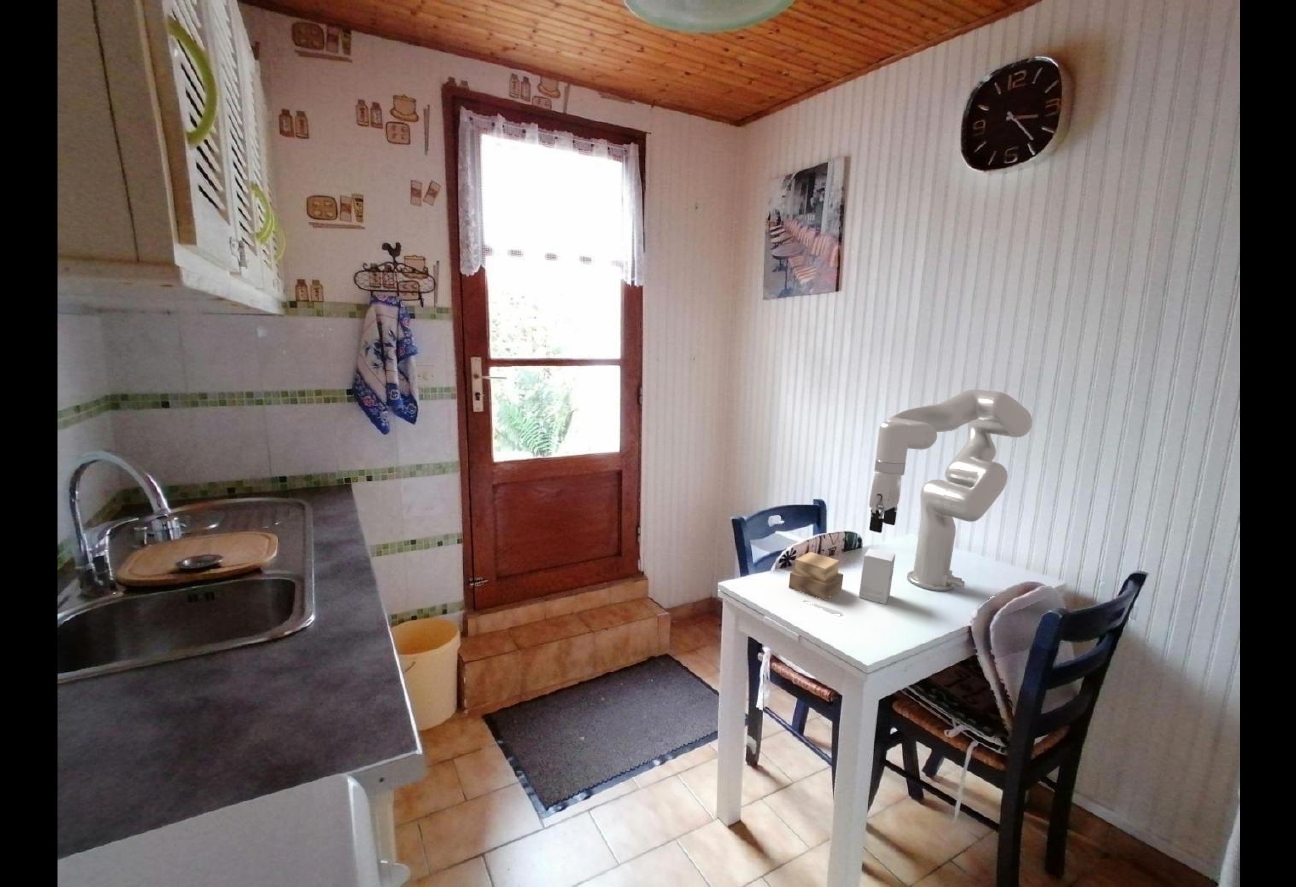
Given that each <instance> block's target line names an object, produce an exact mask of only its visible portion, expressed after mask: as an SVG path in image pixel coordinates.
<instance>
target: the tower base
mask: <svg viewBox="0 0 1296 887" xmlns="http://www.w3.org/2000/svg"><path fill="white" fill-rule="evenodd" d="M794 572H795V569H794V570H793V571H791V572H790V573H789V579H788V580H789V581H788V589H791V590H793V589H794V591H797V592H799V591H801V592H800V593H802V592H804V593H803V594H805V595H807V594H808V596H811V597H813V596H814V598H816V597H817V598H816V599H818V598H820V599H819V600H821V599H822V600H821V601H827V600H828V599H829V597H830V596H831V597H832V596H834V595H836V594H837V593H838V592H840V591H841V590H842V589H843V581H844V573H842V572H838V574H837V575H835V576H833V577H832V578H830V579H829V580H827V581H826V582H821V581H818V580H815V579H812V578H809V577H806V576H803V575H800V574H797V573H794ZM839 590H840V591H839ZM837 591H838V592H837ZM836 592H837V593H836ZM831 597H830V598H831ZM826 599H827V600H826Z"/></svg>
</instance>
